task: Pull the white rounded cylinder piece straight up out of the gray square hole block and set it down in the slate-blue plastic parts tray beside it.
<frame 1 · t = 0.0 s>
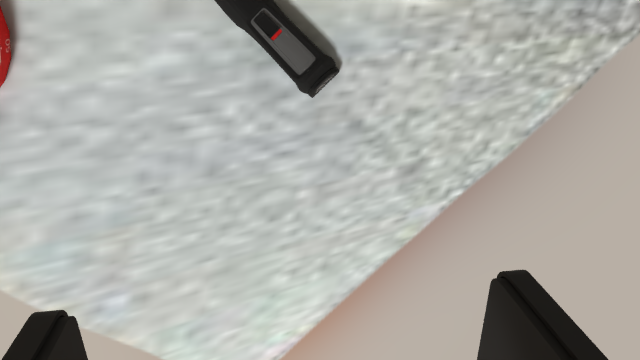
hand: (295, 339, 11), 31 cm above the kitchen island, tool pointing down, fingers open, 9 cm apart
electric trimmer: (261, 20, 38), on the kitchen island
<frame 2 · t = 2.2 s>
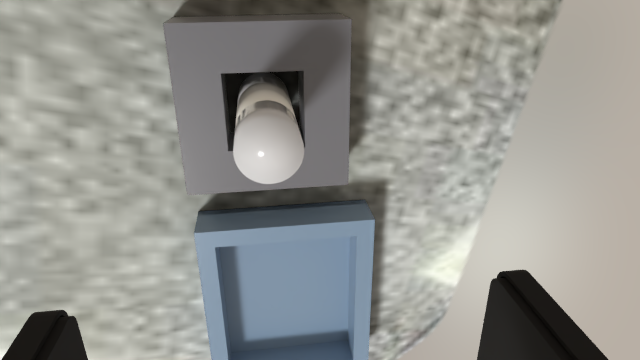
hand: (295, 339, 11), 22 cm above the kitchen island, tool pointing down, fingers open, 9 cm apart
white rounded cylinder piece: (265, 119, 25), in the gray square hole block
gray square hole block: (263, 96, 30), on the kitchen island
parts tray: (287, 284, 36), on the kitchen island
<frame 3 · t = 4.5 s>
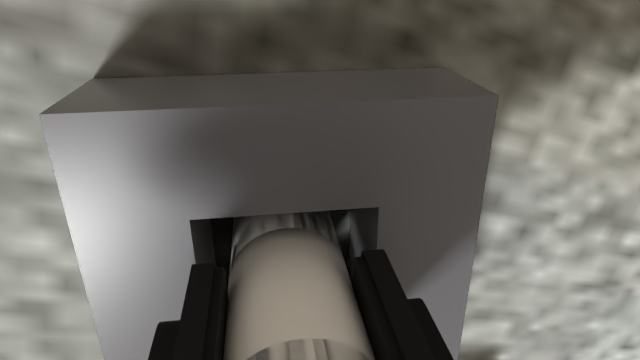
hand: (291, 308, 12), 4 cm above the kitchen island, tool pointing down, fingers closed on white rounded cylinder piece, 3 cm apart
white rounded cylinder piece: (294, 330, 11), in the gray square hole block, touching gripper
gray square hole block: (282, 224, 15), on the kitchen island
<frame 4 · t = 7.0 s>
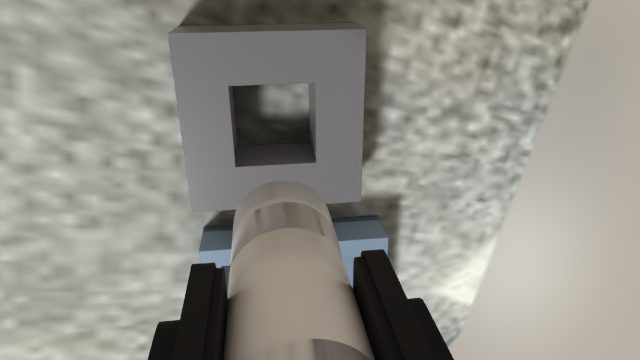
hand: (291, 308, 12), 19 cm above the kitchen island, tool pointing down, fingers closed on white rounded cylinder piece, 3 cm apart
white rounded cylinder piece: (294, 330, 11), point 20 cm above the kitchen island, touching gripper
gray square hole block: (272, 109, 29), on the kitchen island
parts tray: (295, 302, 35), on the kitchen island
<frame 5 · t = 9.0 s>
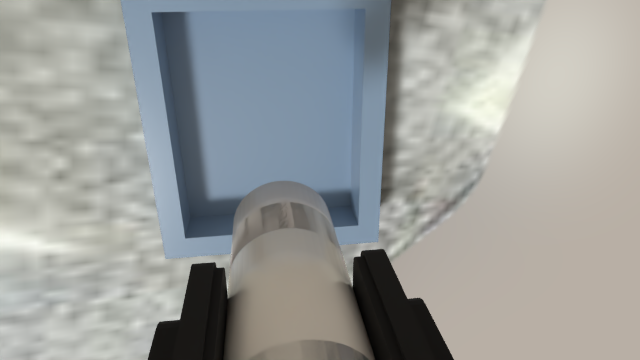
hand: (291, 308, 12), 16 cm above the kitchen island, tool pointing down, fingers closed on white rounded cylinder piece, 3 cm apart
white rounded cylinder piece: (294, 330, 11), point 17 cm above the kitchen island, touching gripper
parts tray: (266, 115, 26), on the kitchen island
when the fingers open (7 cm above the kitchen island, at t = 10.8 s): white rounded cylinder piece drops 2 cm, resting on parts tray.
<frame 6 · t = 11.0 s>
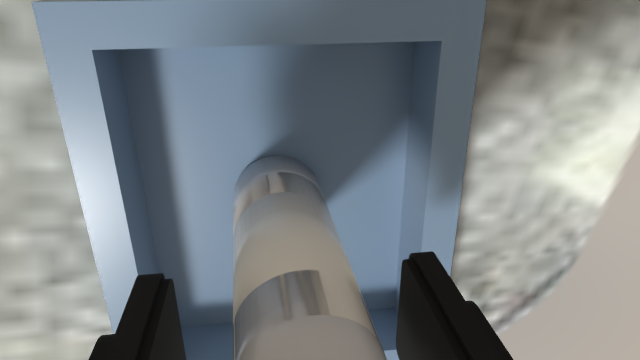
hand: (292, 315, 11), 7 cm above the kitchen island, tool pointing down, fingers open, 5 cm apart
white rounded cylinder piece: (292, 275, 13), in the parts tray, point 6 cm above the kitchen island
parts tray: (278, 188, 18), on the kitchen island
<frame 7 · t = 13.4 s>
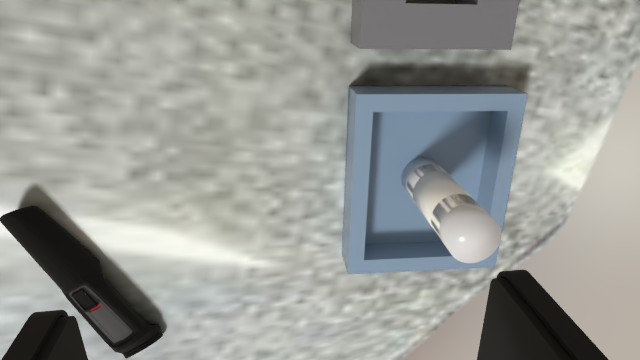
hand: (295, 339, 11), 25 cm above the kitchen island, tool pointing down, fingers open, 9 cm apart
white rounded cylinder piece: (444, 203, 32), in the parts tray, point 6 cm above the kitchen island
electric trimmer: (92, 277, 38), on the kitchen island
parts tray: (419, 174, 37), on the kitchen island
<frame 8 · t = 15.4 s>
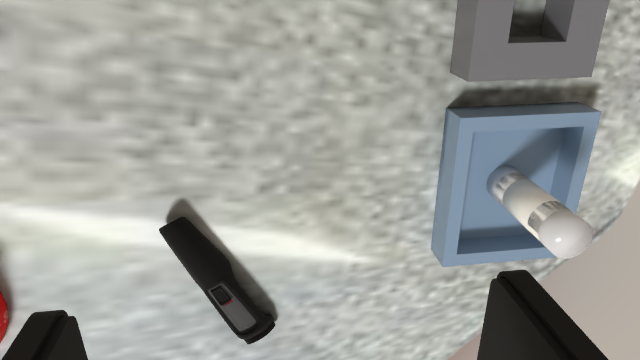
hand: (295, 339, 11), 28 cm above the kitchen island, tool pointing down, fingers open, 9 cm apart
white rounded cylinder piece: (533, 207, 38), in the parts tray, point 6 cm above the kitchen island
electric trimmer: (219, 275, 44), on the kitchen island
gray square hole block: (518, 6, 36), on the kitchen island
parts tray: (500, 179, 43), on the kitchen island
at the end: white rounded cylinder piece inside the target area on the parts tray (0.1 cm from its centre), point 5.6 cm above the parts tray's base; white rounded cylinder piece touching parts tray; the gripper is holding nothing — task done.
